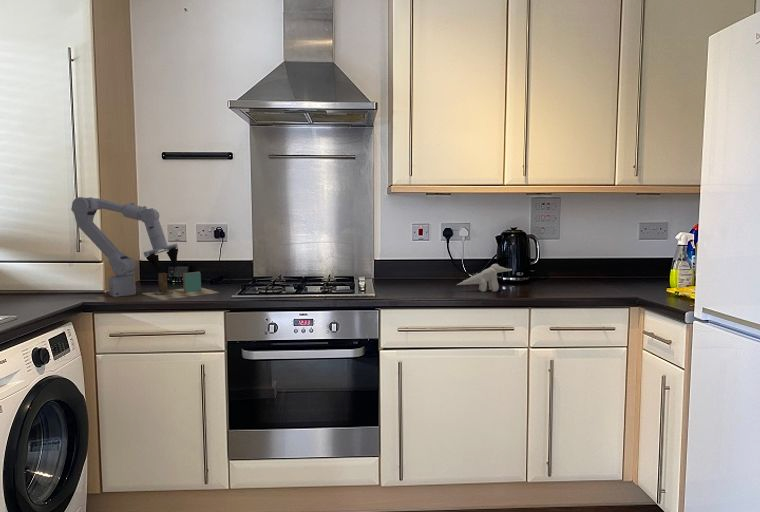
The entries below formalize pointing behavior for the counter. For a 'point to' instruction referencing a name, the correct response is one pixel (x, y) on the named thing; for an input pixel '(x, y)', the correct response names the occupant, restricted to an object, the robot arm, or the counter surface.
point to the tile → (192, 281)
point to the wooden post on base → (162, 285)
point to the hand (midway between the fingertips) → (167, 269)
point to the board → (180, 294)
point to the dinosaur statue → (486, 278)
